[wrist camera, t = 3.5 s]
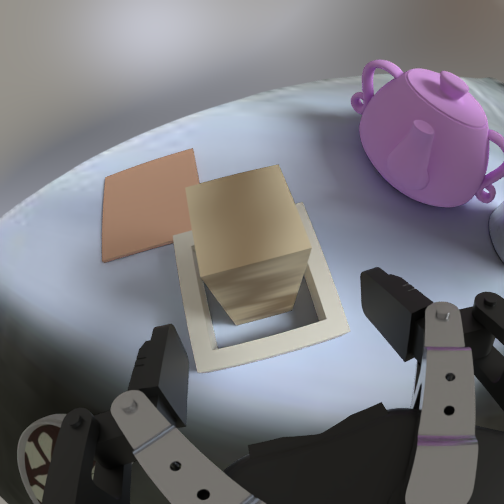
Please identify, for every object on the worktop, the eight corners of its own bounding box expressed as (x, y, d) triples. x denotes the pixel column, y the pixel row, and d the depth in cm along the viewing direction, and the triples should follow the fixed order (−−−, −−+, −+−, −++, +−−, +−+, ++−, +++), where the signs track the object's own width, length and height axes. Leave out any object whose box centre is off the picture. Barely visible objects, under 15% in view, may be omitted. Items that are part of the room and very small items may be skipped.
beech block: (276, 259, 26) (278, 164, 14) (291, 310, 24) (312, 247, 12) (223, 273, 26) (185, 187, 14) (236, 325, 24) (200, 276, 12)
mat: (193, 151, 33) (192, 148, 32) (209, 233, 28) (208, 230, 27) (107, 179, 32) (105, 177, 32) (104, 262, 27) (102, 260, 27)
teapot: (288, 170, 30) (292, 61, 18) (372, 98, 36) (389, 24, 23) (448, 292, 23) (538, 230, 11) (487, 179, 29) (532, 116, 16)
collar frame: (299, 219, 28) (302, 202, 25) (341, 336, 23) (350, 331, 20) (182, 249, 27) (172, 235, 24) (206, 372, 22) (197, 373, 19)
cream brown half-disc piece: (112, 382, 22) (41, 377, 13) (161, 425, 20) (100, 447, 11) (65, 456, 18) (1, 468, 9) (106, 496, 17) (48, 525, 7)
